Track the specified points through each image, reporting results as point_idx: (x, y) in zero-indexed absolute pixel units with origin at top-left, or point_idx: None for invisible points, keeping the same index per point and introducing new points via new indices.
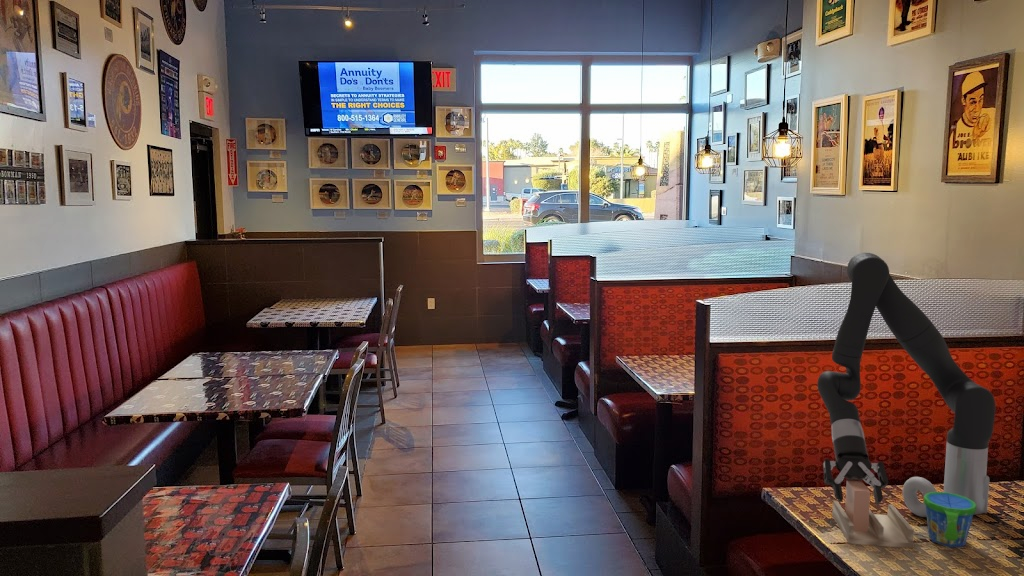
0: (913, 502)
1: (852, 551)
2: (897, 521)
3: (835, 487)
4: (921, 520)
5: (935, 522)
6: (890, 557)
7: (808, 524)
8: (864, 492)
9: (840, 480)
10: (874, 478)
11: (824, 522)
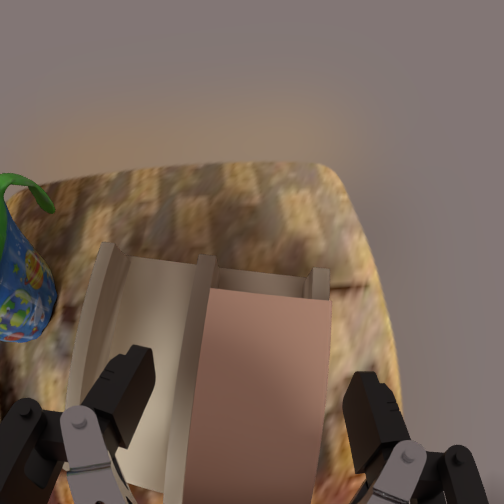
0: None
1: (319, 235)
2: (96, 368)
3: (404, 429)
4: None
5: (26, 252)
6: (224, 205)
7: None
8: (254, 296)
9: (389, 466)
10: (80, 461)
11: (339, 447)
